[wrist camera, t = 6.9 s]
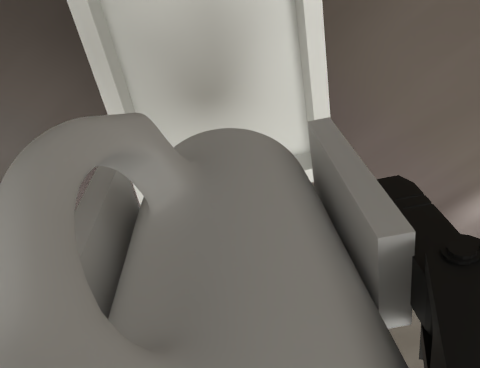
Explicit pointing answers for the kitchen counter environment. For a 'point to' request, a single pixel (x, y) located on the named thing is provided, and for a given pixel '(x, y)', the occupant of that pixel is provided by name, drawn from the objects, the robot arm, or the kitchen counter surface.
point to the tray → (211, 65)
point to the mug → (181, 258)
